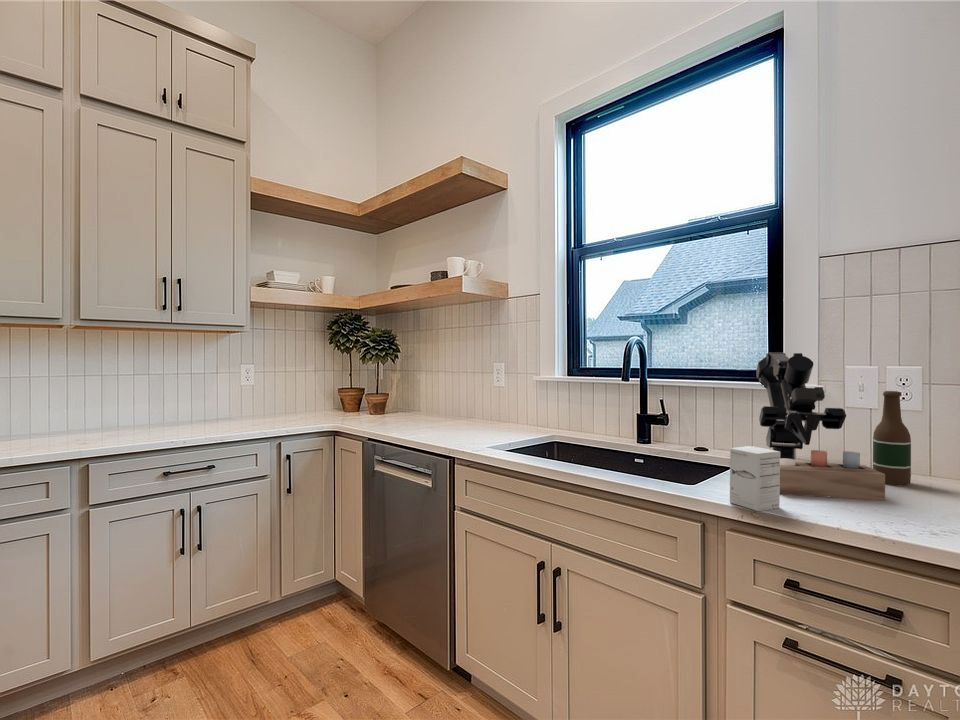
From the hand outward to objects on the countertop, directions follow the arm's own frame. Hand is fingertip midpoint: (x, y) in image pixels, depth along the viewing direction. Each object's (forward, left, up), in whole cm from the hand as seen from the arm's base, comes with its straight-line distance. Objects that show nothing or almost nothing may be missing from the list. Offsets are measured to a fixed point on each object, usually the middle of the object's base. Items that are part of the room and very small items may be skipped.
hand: (807, 443), depth 129 cm
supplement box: (+19, -17, -11) cm, 28 cm away
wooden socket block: (+2, +2, -11) cm, 12 cm away
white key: (0, -5, -8) cm, 9 cm away
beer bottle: (-13, +23, -11) cm, 29 cm away
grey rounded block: (0, +9, -6) cm, 11 cm away
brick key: (0, +2, -6) cm, 6 cm away
